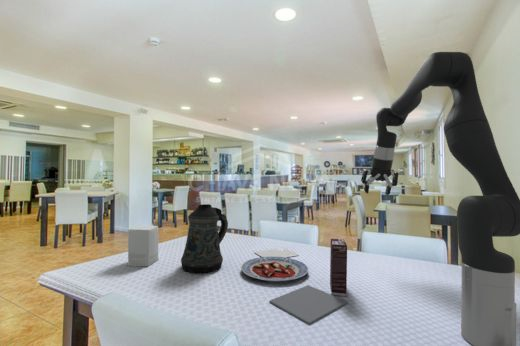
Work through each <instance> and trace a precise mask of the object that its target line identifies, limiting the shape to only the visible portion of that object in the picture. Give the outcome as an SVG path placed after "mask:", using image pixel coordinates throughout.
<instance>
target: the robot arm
mask: <svg viewBox="0 0 520 346" xmlns="http://www.w3.org/2000/svg"><path fill="white" fill-rule="evenodd" d="M429 87H437V88H438V87H440V88H441V87H444V88H445V87H446V88H447V87H448V88H449V89H450V91H451V95H452V97H453V98H452V99H453V104H452V107H451V109H450V111H449V112H448V114H447V116H446V119H445V121H444V125H443V132H444V136H445V140H446V143H447V147H448V150H449V152H450V154H451V155H452V156H453V157H454V159H455V160H456V161H457V162H459V164H460V165H461V166H462V167H463V168H465V170H467V171H468V172H469V174H471V176H472V177H473V178H474V179H475V181H476V182H477V184H478V186H479V189H480V191H481V193H482V195H468V196H465V197H463V198H462V199H461V200H460V202H459V203H458V206H457V210H456V224H457V225H456V226H457V241H458V248H459V252H460V255H461V296H460V297H461V302H460V303H461V305H460V306H461V309H460V311H461V312H460V313H461V315H460V317H461V320H460V321H461V322H460V328H461V330H460V333H461V337H462V338H463V339H464V340H465V341H467V343H468V344H470V345H472V346H517V303H516V301H515V300H516V299H515V298H516V297H515V295H516V290H515V289H516V288H515V287H516V286H515V284H516V262H515V259H514V258H513V256H511V255H509V254H508V253H505V252H501V251H499V250H497V249H496V248H495V247H494V239H493V237H497V238H498V237H499V238H500V237H501V238H502V237H503V238H504V237H505V238H507V237H516V236H519V235H520V198H519V194H518V193H517V191H516V189H515V187H514V185H513V183H512V182H511V180H510V177H509V176H508V172H507V171H506V167H505V165H504V164H503V161H502V159H501V155H500V153H499V151H498V147H497V145H496V141H495V138H494V135H493V131H492V128H491V125H490V122H489V121H488V118H487V115H486V113H485V110H484V106H483V103H482V100H481V97H480V93H479V87H478V84H477V79H476V74H475V69H474V64H473V61H472V58H471V57H470V55H469V54H468V53H466V52H462V51H437V52H433V53H431V54H430V55H428V56H427V57H426V58H425V59H424V61H423V62H422V64H421V65H420V66H419V68H418V70H417V71H416V73H415V74H414V75H413V77H412V78H411V80H410V82H409V83H408V85H407V86H406V88H405V89H404V91H402V93H401V94H400V95H399V96H398V97H396V99H395V100H394V101H393V102H392V104H391V106H390V107H382V108H380V109H379V110H378V112H377V113H376V118H375V119H376V127H377V140H376V145H375V148H374V153H373V159H372V165H371V169H367V168H364V169H363V170H362V175H361V179H360V181H361V184H364V188H363V191H364V192H365V194H369V190H370V185H371V184H372V183H373V182H374V181H377V182H380V181H381V182H385V183H386V187H385V192H384V193H385V195H386V196H389V195H390V194H391V192H392V188H393V187H397V186H398V181H399V180H398V179H399V172H397V171H396V170H395V171H392V168H393V167H392V166H393V162H394V157H395V147H396V143H397V137H398V135H397V134H396V133H395V132H392V131H388V129H387V127H400V126H403V125H404V124H405V122H406V120H407V117H408V116H409V114H410V113H412V112H413V111H415V109H417V108H418V107H419V106H420V104H421V102H422V99H423V94H422V93H423V92H422V91H424V90H425V89H427V88H429ZM369 174H370V176H369ZM368 176H369V177H368ZM390 176H391V177H392V180H390V179H389V178H390Z"/></svg>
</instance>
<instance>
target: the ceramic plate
mask: <svg viewBox="0 0 520 346" xmlns="http://www.w3.org/2000/svg"><path fill="white" fill-rule="evenodd" d="M240 269H241V271H242V272H243V274H245V275H246V276H247V277H250V278H253V279H256V280H257V279H258V280H260V281H268V282H287V281H292V280H297V279H301V278H303V277H304V276H306V275H307V274H308V272H309V267H308V266H307V264H305V263H304V262H302V261H300V260H297V259H295V258H292V257H291V258H290V257H261V256H260V257H256V258H252V259H249V260H247V261H245V262H243V264H242V265H241V266H240Z"/></svg>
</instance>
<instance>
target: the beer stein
mask: <svg viewBox="0 0 520 346" xmlns="http://www.w3.org/2000/svg"><path fill="white" fill-rule="evenodd" d="M222 212H223V211H222V209H221V208H218V207H213V206H212V205H211V204H206V203H205V204H198V207H197V208H196V209H194V210H192V212H190V214H189V215H188V216H187V218H188V219H187V220H188V223H189V225H188V229H187V236H186V242H185V247H184V249H183V253H182V257H181V258H180V263H181V269H182V271H183V272H184V273H187V274H190V275H204V274H206V275H207V274H211V273H214V272H218V271H219V270H220V269H221V268H222V264H223V261H224V259H223V255H222V251H221V247H220V244H221V243H222V241H223V239H224V238H225V236H226V233H227V232H228V231H227V230H228V227H229V222H228V219H227V215H225V214H223V213H222ZM219 221H220V228H218V222H219Z"/></svg>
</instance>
